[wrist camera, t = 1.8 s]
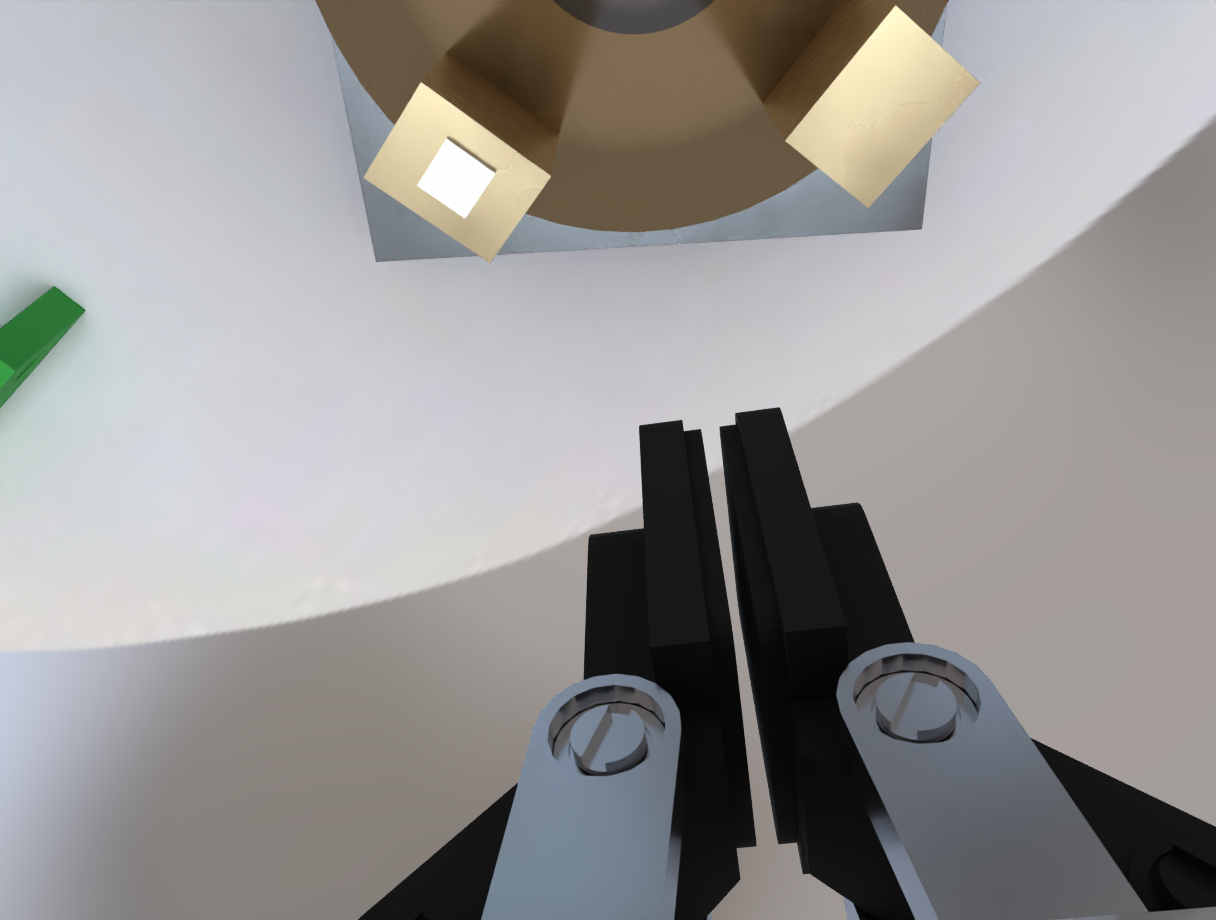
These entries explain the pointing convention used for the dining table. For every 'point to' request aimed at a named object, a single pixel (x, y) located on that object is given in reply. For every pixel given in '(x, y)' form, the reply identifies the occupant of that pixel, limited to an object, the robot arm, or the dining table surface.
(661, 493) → the robot arm
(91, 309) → the dining table surface
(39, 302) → the pipe clamp
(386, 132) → the mounting plate
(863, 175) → the ring nut
